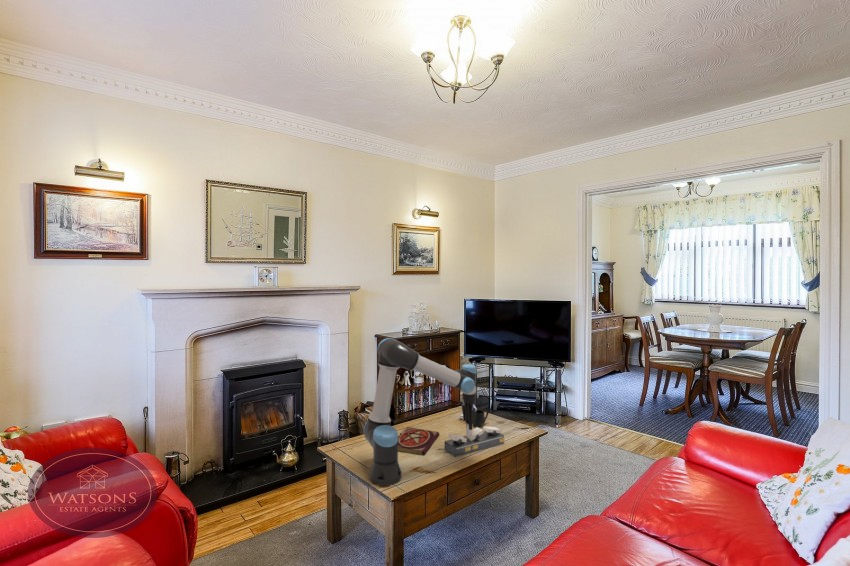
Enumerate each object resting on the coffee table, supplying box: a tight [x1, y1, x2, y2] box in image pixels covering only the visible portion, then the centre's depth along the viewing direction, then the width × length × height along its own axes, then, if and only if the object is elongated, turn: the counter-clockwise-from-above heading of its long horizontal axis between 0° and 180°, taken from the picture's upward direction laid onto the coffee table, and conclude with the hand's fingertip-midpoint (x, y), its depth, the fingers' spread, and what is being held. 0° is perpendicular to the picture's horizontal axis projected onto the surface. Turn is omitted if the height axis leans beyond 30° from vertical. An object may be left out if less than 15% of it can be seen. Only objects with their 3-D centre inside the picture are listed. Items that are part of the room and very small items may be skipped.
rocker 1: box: [448, 433, 467, 444], centre depth 231 cm, size 9×5×3 cm, turn 121°
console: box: [443, 430, 505, 458], centre depth 237 cm, size 34×10×5 cm, turn 120°
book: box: [398, 426, 440, 457], centre depth 242 cm, size 28×21×5 cm
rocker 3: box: [482, 425, 502, 435], centre depth 243 cm, size 9×5×3 cm, turn 121°
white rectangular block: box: [464, 427, 484, 441], centre depth 237 cm, size 9×5×3 cm, turn 120°
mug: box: [472, 408, 489, 429], centre depth 268 cm, size 8×12×10 cm
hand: (469, 434), depth 235 cm, fingers closed
